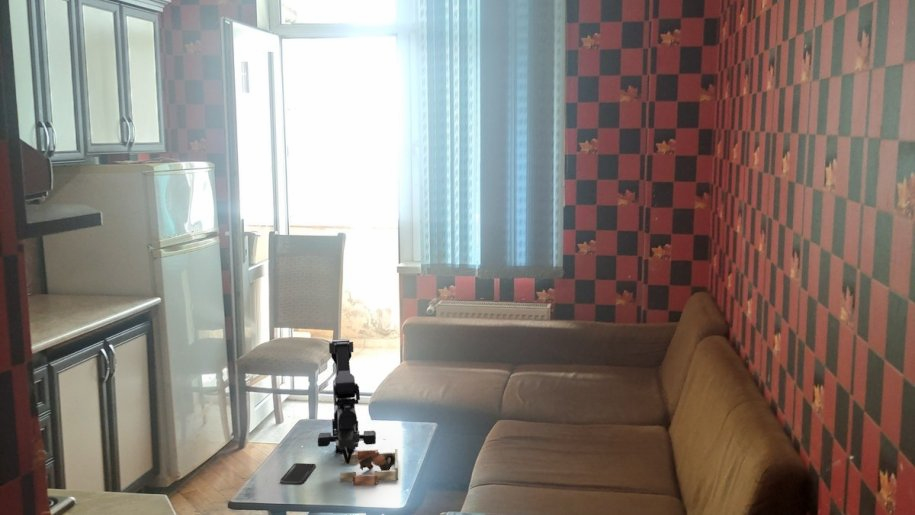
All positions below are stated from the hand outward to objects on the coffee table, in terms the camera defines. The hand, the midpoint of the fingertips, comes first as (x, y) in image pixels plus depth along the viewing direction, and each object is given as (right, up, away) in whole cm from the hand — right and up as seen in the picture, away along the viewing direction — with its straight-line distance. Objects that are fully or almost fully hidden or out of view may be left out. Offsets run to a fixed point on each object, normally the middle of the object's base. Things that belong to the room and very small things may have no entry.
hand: (347, 463), depth 271 cm
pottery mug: (+10, -3, -1) cm, 11 cm away
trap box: (+7, -3, +1) cm, 8 cm away
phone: (-16, -4, -1) cm, 16 cm away
